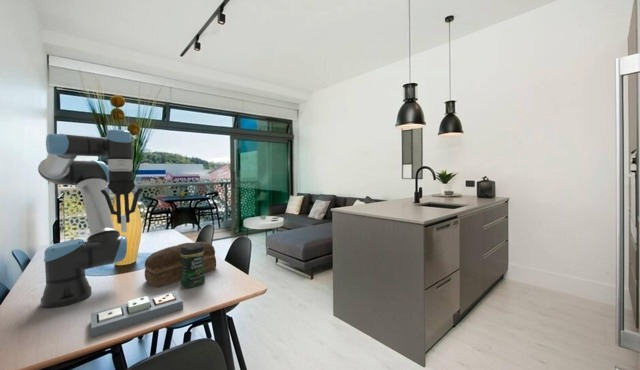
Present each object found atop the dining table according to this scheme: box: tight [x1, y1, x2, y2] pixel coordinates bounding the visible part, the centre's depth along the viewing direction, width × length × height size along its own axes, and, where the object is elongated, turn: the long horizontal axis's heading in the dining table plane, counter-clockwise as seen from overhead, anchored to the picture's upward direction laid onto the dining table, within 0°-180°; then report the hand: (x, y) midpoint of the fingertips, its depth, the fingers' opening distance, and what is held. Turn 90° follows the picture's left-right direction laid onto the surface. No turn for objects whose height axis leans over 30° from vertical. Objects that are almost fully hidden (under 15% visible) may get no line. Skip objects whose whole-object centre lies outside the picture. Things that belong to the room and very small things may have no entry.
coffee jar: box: [180, 243, 206, 289], centre depth 121 cm, size 10×8×19 cm
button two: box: [126, 295, 150, 314], centre depth 95 cm, size 6×6×3 cm
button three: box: [153, 293, 175, 306], centre depth 101 cm, size 6×6×3 cm
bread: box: [144, 241, 217, 288], centre depth 133 cm, size 15×32×16 cm, turn 142°
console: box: [90, 290, 184, 338], centre depth 95 cm, size 26×12×3 cm, turn 131°
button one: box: [99, 307, 122, 322], centre depth 90 cm, size 6×6×3 cm
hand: (123, 231), depth 103 cm, fingers closed
